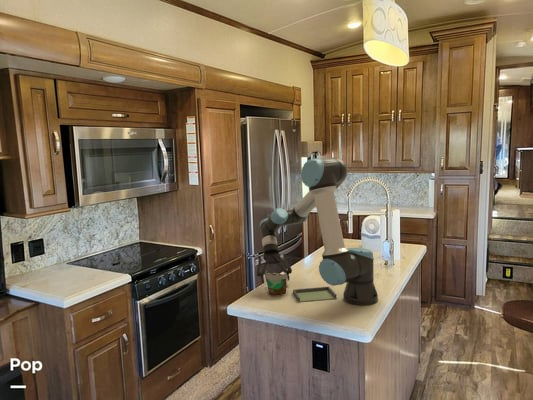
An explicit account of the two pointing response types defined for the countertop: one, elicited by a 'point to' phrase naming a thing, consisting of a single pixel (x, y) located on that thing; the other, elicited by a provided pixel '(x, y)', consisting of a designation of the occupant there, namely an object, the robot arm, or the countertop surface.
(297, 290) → the green tray
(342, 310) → the countertop surface
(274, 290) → the food container
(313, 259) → the countertop surface
